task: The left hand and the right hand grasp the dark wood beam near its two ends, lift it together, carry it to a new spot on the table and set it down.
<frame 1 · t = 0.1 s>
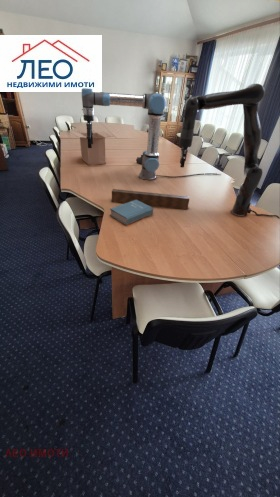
left hand: (90, 146, 173), 28 cm above the table, tool pointing down, fingers open, 13 cm apart
right hand: (181, 165, 141), 29 cm above the table, tool pointing down, fingers open, 8 cm apart
beam: (149, 204, 159), on the table
book: (131, 215, 144), on the table
laser sight: (146, 164, 240), on the table
box: (93, 161, 237), on the table
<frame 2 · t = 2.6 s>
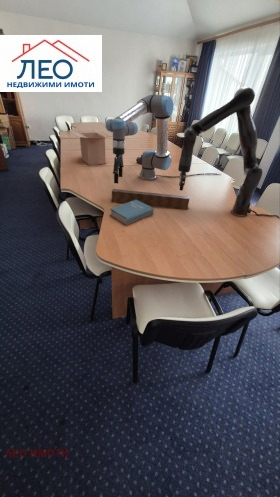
left hand: (118, 179, 154), 15 cm above the table, tool pointing down, fingers open, 13 cm apart
right hand: (180, 187, 150), 14 cm above the table, tool pointing down, fingers open, 8 cm apart
nothing on the table moved.
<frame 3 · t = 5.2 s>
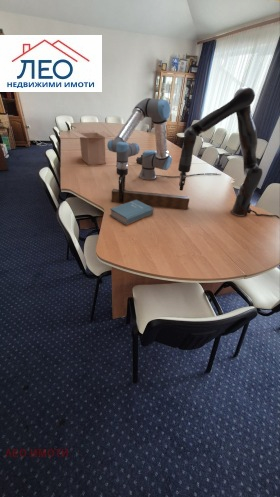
left hand: (121, 200, 160), 1 cm above the table, tool pointing down, fingers closed on beam, 4 cm apart
right hand: (180, 187, 150), 14 cm above the table, tool pointing down, fingers open, 8 cm apart
beam: (149, 204, 159), on the table, touching left hand
everything else where it was.
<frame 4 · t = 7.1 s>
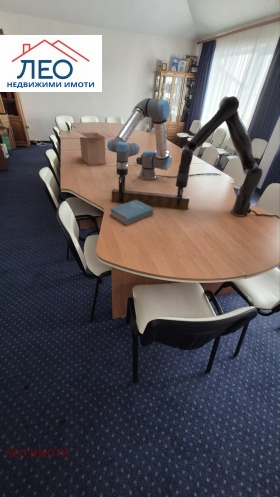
left hand: (121, 200, 160), 1 cm above the table, tool pointing down, fingers closed on beam, 4 cm apart
right hand: (178, 202, 156), 3 cm above the table, tool pointing down, fingers closed on beam, 4 cm apart
beam: (149, 204, 159), on the table, touching left hand, right hand
everything else where it was.
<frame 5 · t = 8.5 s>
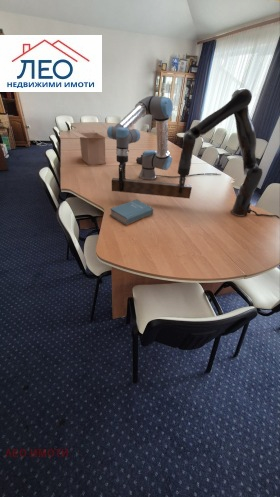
left hand: (122, 189, 155), 9 cm above the table, tool pointing down, fingers closed on beam, 4 cm apart
right hand: (180, 191, 151), 12 cm above the table, tool pointing down, fingers closed on beam, 4 cm apart
beam: (150, 193, 154), point 8 cm above the table, touching left hand, right hand
everything else where it was.
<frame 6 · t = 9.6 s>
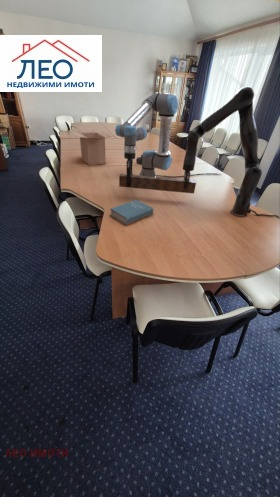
left hand: (129, 185, 162), 9 cm above the table, tool pointing down, fingers closed on beam, 4 cm apart
right hand: (184, 187, 158), 12 cm above the table, tool pointing down, fingers closed on beam, 4 cm apart
beam: (156, 188, 161), point 8 cm above the table, touching left hand, right hand
everything else where it was.
when the left hand's fingers open (2 cm above the table, at t = 12.1 s): beam drops 1 cm, on the table.
when the right hand's fingers open (4 cm above the table, at t = 12.3 s): beam stays where it is, on the table.
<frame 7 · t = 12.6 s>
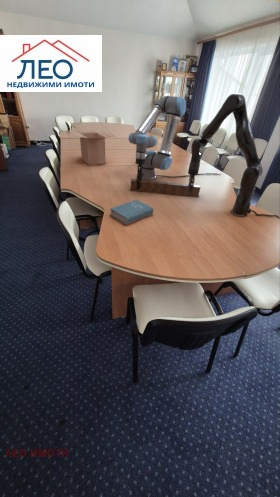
left hand: (139, 186, 178), 3 cm above the table, tool pointing down, fingers open, 11 cm apart
right hand: (189, 189, 175), 5 cm above the table, tool pointing down, fingers open, 7 cm apart
beam: (164, 192, 178), on the table
everything else where it was.
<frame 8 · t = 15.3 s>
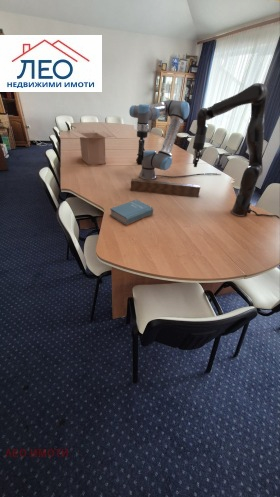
left hand: (140, 162, 167), 22 cm above the table, tool pointing down, fingers open, 13 cm apart
right hand: (194, 165, 164), 23 cm above the table, tool pointing down, fingers open, 8 cm apart
nothing on the table moved.
at the end: beam inside the target area (0.6 cm from its centre), on the table; beam tilted 0°; beam never tilted more than 2° during the clip; both hands held the beam at the same time; the left hand is holding nothing; the right hand is holding nothing; beam at rest at the end (0.0 cm/s) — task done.
